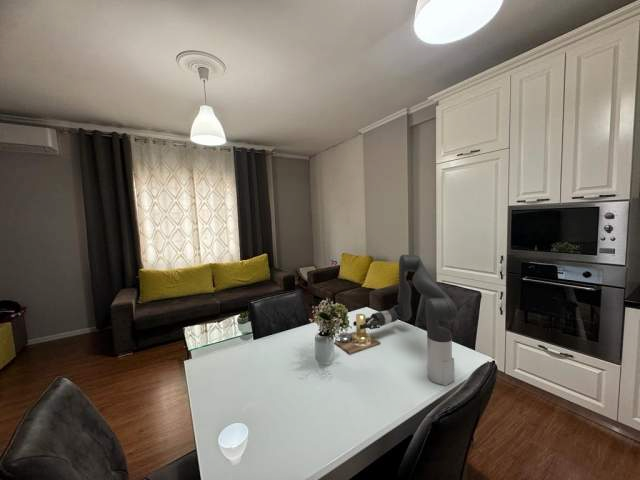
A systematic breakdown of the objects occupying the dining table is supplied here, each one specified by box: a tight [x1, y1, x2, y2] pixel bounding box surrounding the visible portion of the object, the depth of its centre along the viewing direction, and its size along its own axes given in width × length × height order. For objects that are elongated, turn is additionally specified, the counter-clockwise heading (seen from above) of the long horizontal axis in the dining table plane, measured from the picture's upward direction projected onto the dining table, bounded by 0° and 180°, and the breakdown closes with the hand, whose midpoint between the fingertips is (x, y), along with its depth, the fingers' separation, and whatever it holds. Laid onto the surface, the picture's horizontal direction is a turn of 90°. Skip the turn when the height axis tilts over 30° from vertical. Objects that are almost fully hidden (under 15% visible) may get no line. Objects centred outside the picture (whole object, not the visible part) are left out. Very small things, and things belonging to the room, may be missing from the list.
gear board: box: [334, 331, 381, 356], centre depth 140 cm, size 18×20×1 cm
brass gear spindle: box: [352, 313, 372, 343], centre depth 137 cm, size 10×10×13 cm
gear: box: [338, 331, 353, 344], centre depth 141 cm, size 10×9×4 cm
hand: (357, 325), depth 136 cm, fingers closed on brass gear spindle, 5 cm apart
